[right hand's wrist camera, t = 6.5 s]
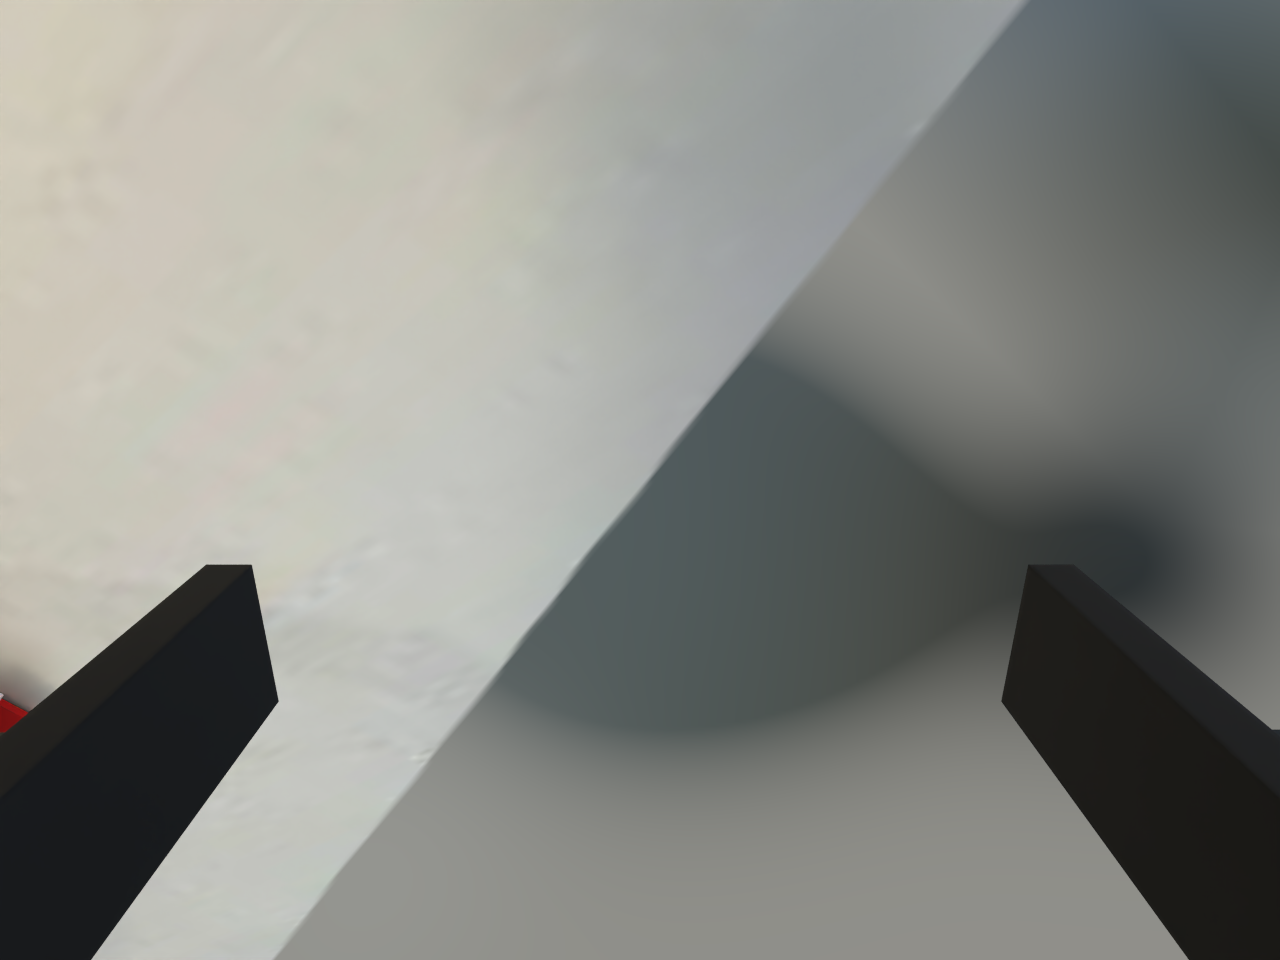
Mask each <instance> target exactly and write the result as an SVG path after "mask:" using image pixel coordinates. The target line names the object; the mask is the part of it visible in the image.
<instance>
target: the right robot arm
mask: <svg viewBox="0 0 1280 960" xmlns="http://www.w3.org/2000/svg"><path fill="white" fill-rule="evenodd" d="M278 702H279V701H278V696H277V691H276V686H275V681H274V676H273V670H272V665H271V660H270V655H269V650H268V645H267V640H266V635H265V630H264V625H263V620H262V615H261V610H260V604H259V599H258V594H257V589H256V584H255V579H254V574H253V569H252V565H205V566H204V567H203V568H202V569H201V570H199V571H198V572H197V573H196V574H195V575H193V576H192V577H191V578H190V579H189V580H187V581H186V582H185V583H184V584H183V585H181V586H180V587H179V588H178V589H177V590H175V591H174V592H173V593H172V594H171V595H169V596H168V597H167V598H166V599H165V600H163V601H162V602H161V603H160V604H159V605H157V606H156V607H155V608H154V609H153V610H151V611H150V612H149V613H148V614H147V615H145V616H144V617H143V618H142V619H141V620H139V621H138V622H137V623H136V624H135V625H133V626H132V627H131V628H130V629H129V630H127V631H126V632H125V633H124V634H123V635H121V636H120V637H119V638H118V639H117V640H115V641H114V642H113V643H112V644H111V645H109V646H108V647H107V648H106V649H105V650H103V651H102V652H101V653H100V654H99V655H97V656H96V657H95V658H94V659H93V660H91V661H90V662H89V663H88V664H86V665H85V666H84V667H83V668H82V669H80V670H79V671H78V672H77V673H76V674H74V675H73V676H72V677H71V678H70V679H68V680H67V681H66V682H65V683H64V684H62V685H61V686H60V687H59V688H58V689H56V690H55V691H54V692H53V693H52V694H50V695H49V696H48V697H47V698H46V699H44V700H43V701H42V702H41V703H40V704H38V705H37V706H36V707H35V708H34V709H32V710H31V711H30V712H29V713H28V714H26V715H25V716H24V717H23V718H22V719H20V720H19V721H18V722H17V723H16V724H14V725H13V726H12V727H11V728H10V729H8V730H7V731H6V732H0V960H91V959H92V958H93V956H94V955H95V954H96V952H97V951H98V949H99V948H100V947H101V945H102V944H103V943H104V941H105V940H106V938H107V937H108V936H109V934H110V933H111V932H112V930H113V929H114V927H115V926H116V925H117V923H118V922H119V921H120V919H121V918H122V916H123V915H124V914H125V912H126V911H127V909H128V908H129V907H130V905H131V904H132V903H133V901H134V900H135V898H136V897H137V896H138V894H139V893H140V892H141V890H142V889H143V887H144V886H145V885H146V883H147V882H148V881H149V879H150V878H151V876H152V875H153V874H154V872H155V871H156V870H157V868H158V867H159V865H160V864H161V863H162V861H163V860H164V859H165V857H166V856H167V854H168V853H169V852H170V850H171V849H172V848H173V846H174V845H175V843H176V842H177V841H178V839H179V838H180V836H181V835H182V834H183V832H184V831H185V830H186V828H187V827H188V825H189V824H190V823H191V821H192V820H193V819H194V817H195V816H196V814H197V813H198V812H199V810H200V809H201V808H202V806H203V805H204V803H205V802H206V801H207V799H208V798H209V797H210V795H211V794H212V792H213V791H214V790H215V788H216V787H217V786H218V784H219V783H220V781H221V780H222V779H223V777H224V776H225V775H226V773H227V772H228V770H229V769H230V768H231V766H232V765H233V764H234V762H235V761H236V759H237V758H238V757H239V755H240V754H241V752H242V751H243V750H244V748H245V747H246V746H247V744H248V743H249V741H250V740H251V739H252V737H253V736H254V735H255V733H256V732H257V730H258V729H259V728H260V726H261V725H262V724H263V722H264V721H265V719H266V718H267V717H268V715H269V714H270V713H271V711H272V710H273V708H274V707H275V706H276V704H277V703H278ZM1002 703H1003V704H1004V706H1005V707H1006V708H1007V710H1008V711H1009V713H1010V714H1011V715H1012V717H1013V718H1014V719H1015V721H1016V722H1017V724H1018V725H1019V726H1020V728H1021V729H1022V730H1023V732H1024V733H1025V735H1026V736H1027V737H1028V739H1029V740H1030V741H1031V743H1032V744H1033V746H1034V747H1035V748H1036V750H1037V751H1038V752H1039V754H1040V755H1041V757H1042V758H1043V759H1044V761H1045V762H1046V763H1047V765H1048V766H1049V768H1050V769H1051V770H1052V772H1053V773H1054V774H1055V776H1056V777H1057V779H1058V780H1059V781H1060V783H1061V784H1062V786H1063V787H1064V788H1065V790H1066V791H1067V792H1068V794H1069V795H1070V797H1071V798H1072V799H1073V801H1074V802H1075V803H1076V805H1077V806H1078V808H1079V809H1080V810H1081V812H1082V813H1083V814H1084V816H1085V817H1086V819H1087V820H1088V821H1089V823H1090V824H1091V825H1092V827H1093V828H1094V830H1095V831H1096V832H1097V834H1098V835H1099V836H1100V838H1101V839H1102V841H1103V842H1104V843H1105V845H1106V846H1107V848H1108V849H1109V850H1110V852H1111V853H1112V854H1113V856H1114V857H1115V858H1116V860H1117V861H1118V863H1119V864H1120V865H1121V867H1122V868H1123V870H1124V871H1125V872H1126V874H1127V875H1128V876H1129V878H1130V879H1131V881H1132V882H1133V883H1134V885H1135V886H1136V887H1137V889H1138V890H1139V892H1140V893H1141V894H1142V896H1143V897H1144V898H1145V900H1146V901H1147V903H1148V904H1149V905H1150V907H1151V908H1152V909H1153V911H1154V912H1155V914H1156V915H1157V916H1158V918H1159V919H1160V921H1161V922H1162V923H1163V925H1164V926H1165V927H1166V929H1167V930H1168V932H1169V933H1170V934H1171V936H1172V937H1173V938H1174V940H1175V941H1176V943H1177V944H1178V945H1179V947H1180V948H1181V949H1182V951H1183V952H1184V954H1185V955H1186V956H1187V958H1188V959H1189V960H1280V730H1272V729H1270V728H1269V727H1268V726H1267V725H1266V724H1264V723H1263V722H1262V721H1261V720H1260V719H1258V718H1257V717H1256V716H1255V715H1254V714H1252V713H1251V712H1250V711H1249V710H1248V709H1246V708H1245V707H1244V706H1243V705H1242V704H1240V703H1239V702H1238V701H1237V700H1236V699H1234V698H1233V697H1232V696H1231V695H1230V694H1228V693H1227V692H1226V691H1225V690H1224V689H1222V688H1221V687H1220V686H1219V685H1218V684H1216V683H1215V682H1214V681H1213V680H1211V679H1210V678H1209V677H1208V676H1207V675H1206V674H1204V673H1203V672H1202V671H1201V670H1199V669H1198V668H1197V667H1196V666H1195V665H1193V664H1192V663H1191V662H1190V661H1189V660H1187V659H1186V658H1185V657H1184V656H1183V655H1181V654H1180V653H1179V652H1178V651H1177V650H1175V649H1174V648H1173V647H1172V646H1171V645H1169V644H1168V643H1167V642H1166V641H1165V640H1163V639H1162V638H1161V637H1160V636H1159V635H1157V634H1156V633H1155V632H1154V631H1153V630H1151V629H1150V628H1149V627H1148V626H1147V625H1145V624H1144V623H1143V622H1142V621H1141V620H1139V619H1138V618H1137V617H1136V616H1135V615H1133V614H1132V613H1131V612H1130V611H1129V610H1127V609H1126V608H1125V607H1124V606H1123V605H1121V604H1120V603H1119V602H1118V601H1117V600H1115V599H1114V598H1113V597H1112V596H1110V595H1109V594H1108V593H1107V592H1106V591H1105V590H1103V589H1102V588H1101V587H1100V586H1099V585H1097V584H1096V583H1095V582H1094V581H1093V580H1091V579H1090V578H1089V577H1088V576H1087V575H1085V574H1084V573H1083V572H1082V571H1081V570H1079V569H1078V568H1077V567H1076V566H1075V565H1028V569H1027V574H1026V579H1025V584H1024V589H1023V594H1022V599H1021V605H1020V610H1019V615H1018V620H1017V625H1016V630H1015V635H1014V640H1013V645H1012V650H1011V656H1010V660H1009V665H1008V670H1007V676H1006V681H1005V686H1004V691H1003V696H1002Z"/></svg>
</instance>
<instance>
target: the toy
mask: <svg viewBox="0 0 1280 960" xmlns="http://www.w3.org/2000/svg"><path fill="white" fill-rule="evenodd" d="M3 696H4V695H3V694H2V693H0V732H6V731H7V730H8V729H10V728H11V727H12V726H13V725H14V724H16V723H17V722H18V721H19V720H20V719H22V718H23V717H24V716H25V715H26V714H28V712H26V711H24V710H22V709H20V708H19V707H17V706H15V705H13V704H11V703H9V702H7V701H5V700H4V699H2V697H3Z"/></svg>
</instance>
